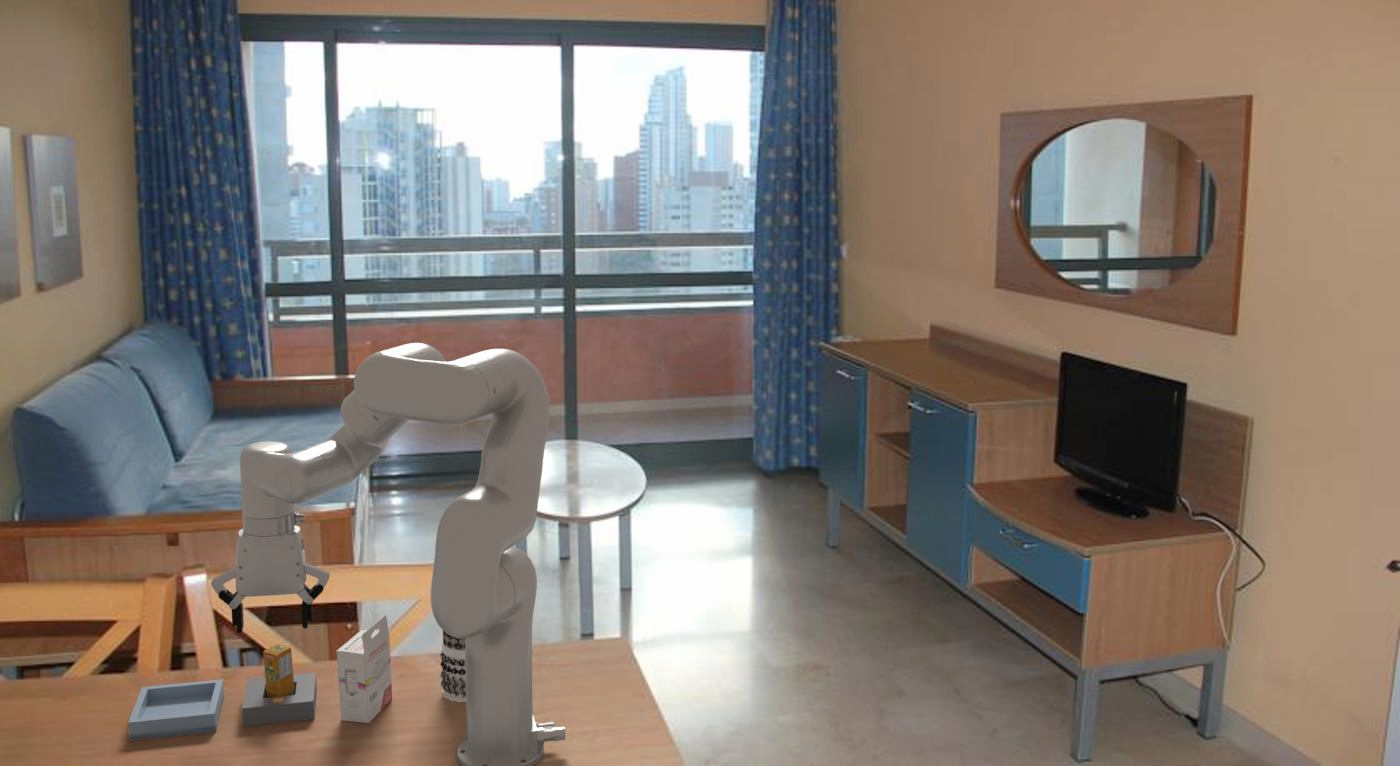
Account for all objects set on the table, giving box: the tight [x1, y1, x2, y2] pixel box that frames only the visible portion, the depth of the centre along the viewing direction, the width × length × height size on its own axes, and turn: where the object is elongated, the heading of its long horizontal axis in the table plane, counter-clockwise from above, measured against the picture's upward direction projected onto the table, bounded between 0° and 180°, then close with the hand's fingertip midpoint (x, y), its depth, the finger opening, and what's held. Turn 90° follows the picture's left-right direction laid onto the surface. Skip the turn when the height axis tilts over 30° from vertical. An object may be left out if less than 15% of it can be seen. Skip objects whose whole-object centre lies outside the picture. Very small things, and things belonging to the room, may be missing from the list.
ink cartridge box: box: [336, 615, 393, 724], centre depth 189 cm, size 9×5×15 cm, turn 168°
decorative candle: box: [439, 630, 466, 703], centre depth 195 cm, size 9×9×25 cm
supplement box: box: [262, 643, 295, 698], centre depth 190 cm, size 3×3×10 cm
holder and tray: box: [127, 671, 318, 741], centre depth 189 cm, size 26×12×3 cm, turn 105°
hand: (273, 627), depth 189 cm, fingers open, 9 cm apart
